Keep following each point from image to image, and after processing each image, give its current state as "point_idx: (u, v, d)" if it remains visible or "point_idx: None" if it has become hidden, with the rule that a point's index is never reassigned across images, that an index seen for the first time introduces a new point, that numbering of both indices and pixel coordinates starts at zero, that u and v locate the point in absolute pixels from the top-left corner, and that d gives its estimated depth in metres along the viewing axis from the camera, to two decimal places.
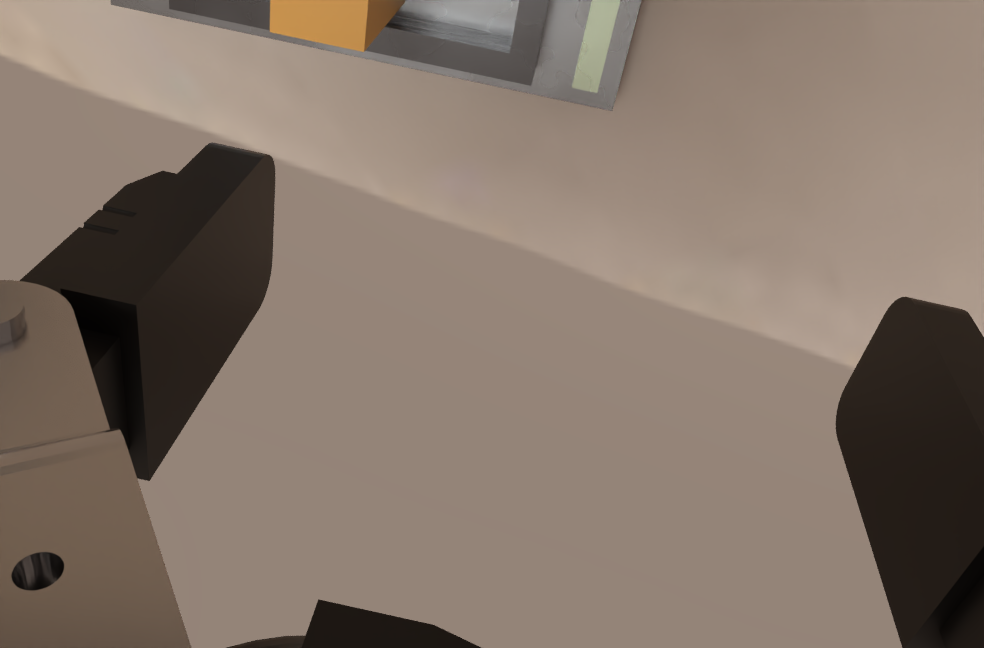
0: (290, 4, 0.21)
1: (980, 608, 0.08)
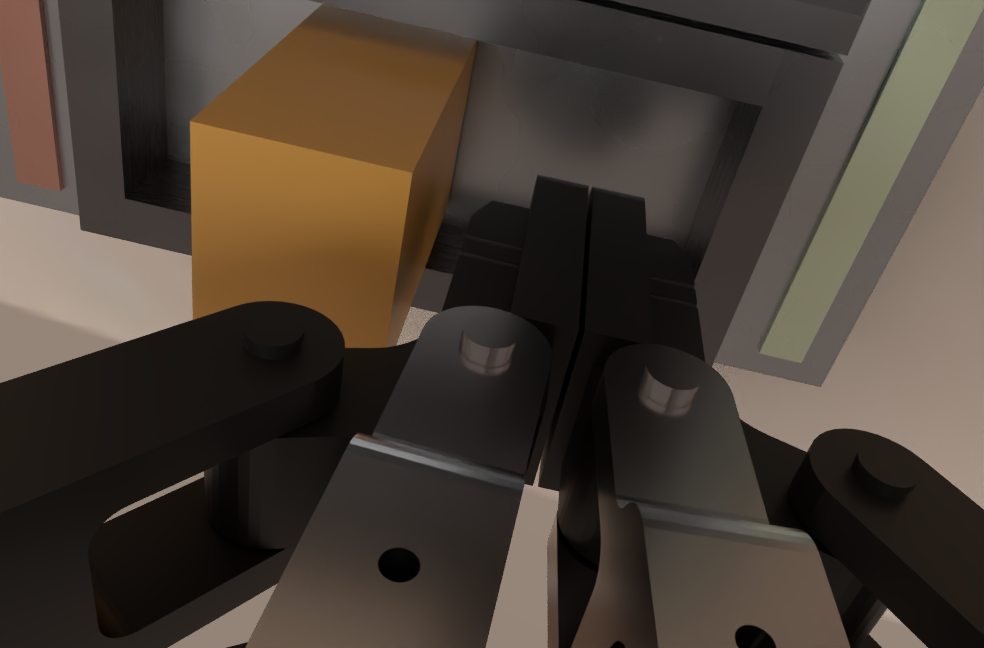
0: (233, 302, 0.10)
1: (574, 434, 0.09)
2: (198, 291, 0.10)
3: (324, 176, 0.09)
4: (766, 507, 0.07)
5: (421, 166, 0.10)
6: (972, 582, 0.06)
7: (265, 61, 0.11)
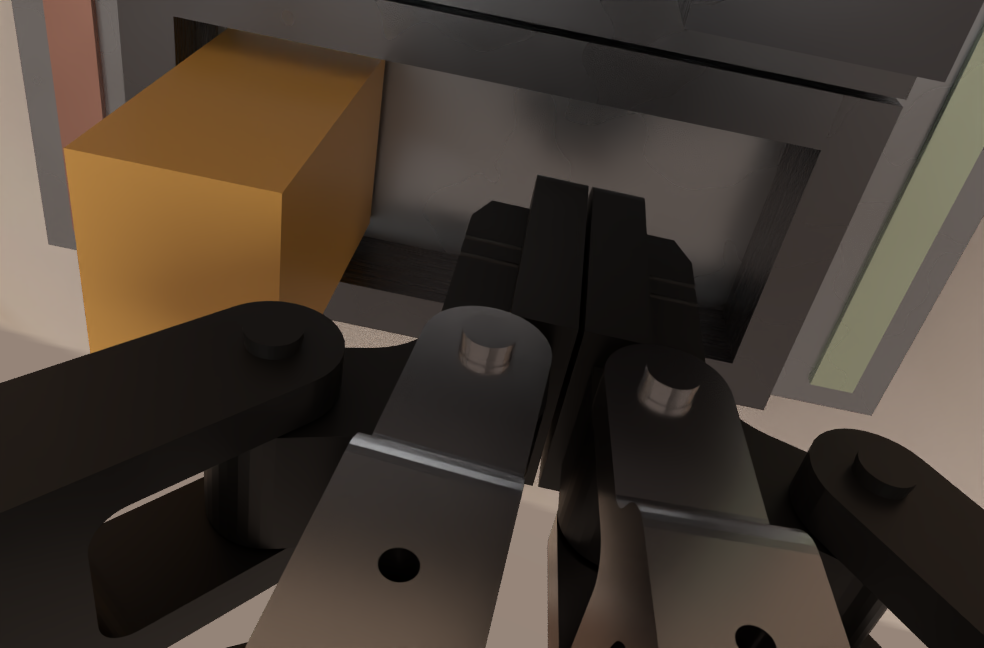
0: (126, 323, 0.10)
1: (575, 434, 0.09)
2: (90, 313, 0.10)
3: (198, 199, 0.09)
4: (767, 506, 0.07)
5: (300, 186, 0.10)
6: (972, 582, 0.06)
7: (156, 84, 0.11)
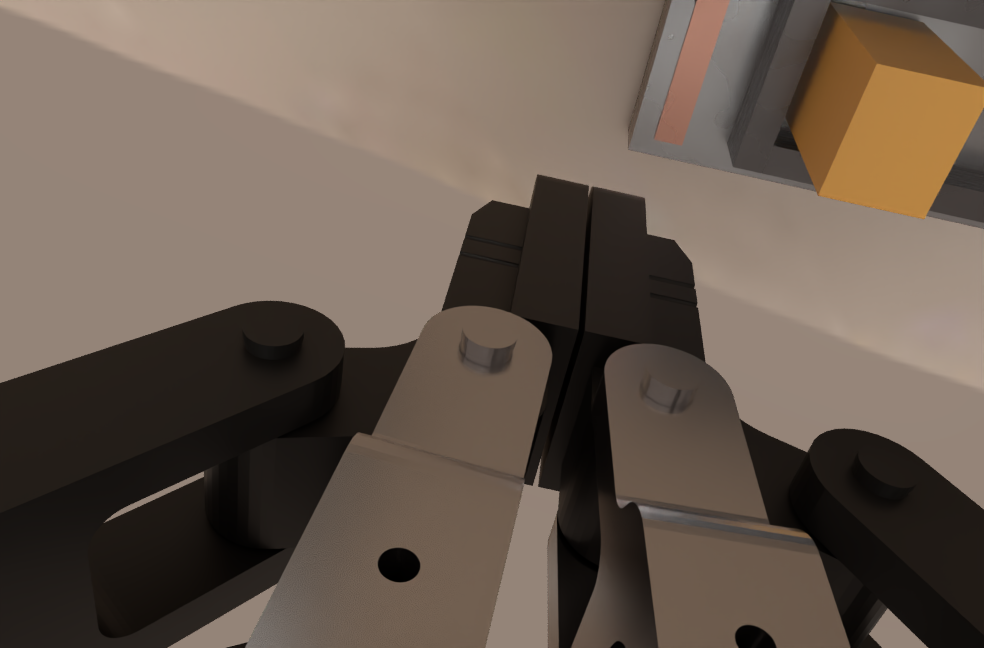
0: (854, 168, 0.19)
1: (574, 434, 0.09)
2: (837, 161, 0.18)
3: (941, 93, 0.17)
4: (766, 506, 0.07)
5: None
6: (972, 582, 0.06)
7: (857, 34, 0.19)
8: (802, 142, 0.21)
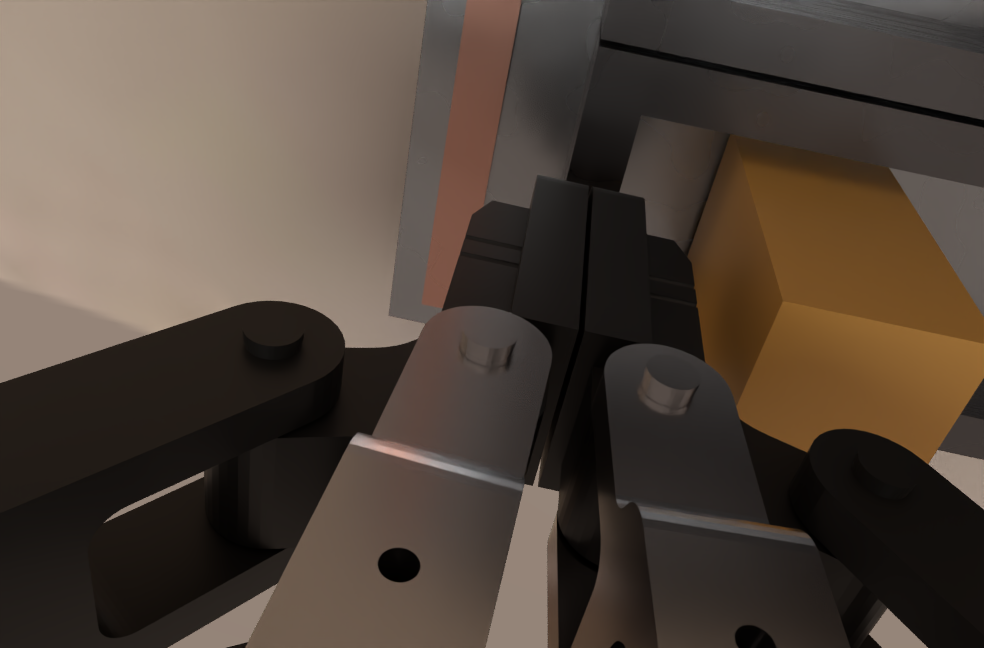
0: None
1: (574, 434, 0.09)
2: None
3: (906, 350, 0.09)
4: (766, 507, 0.07)
5: None
6: (972, 582, 0.06)
7: (762, 213, 0.11)
8: None
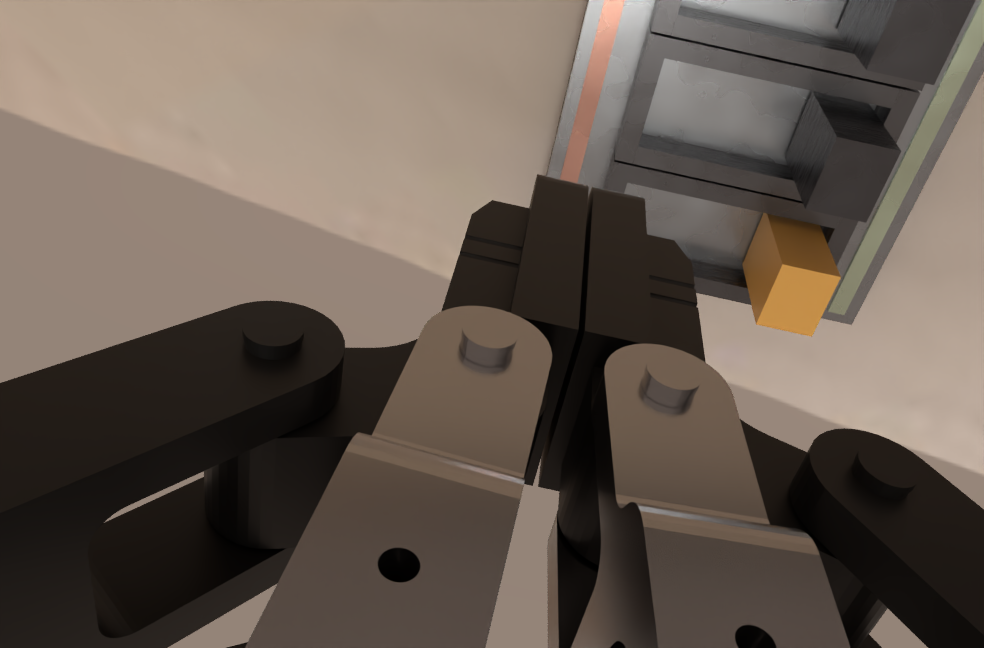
0: (774, 311, 0.36)
1: (574, 434, 0.09)
2: (765, 308, 0.36)
3: (815, 278, 0.34)
4: (766, 507, 0.07)
5: None
6: (972, 582, 0.06)
7: (776, 239, 0.36)
8: (750, 288, 0.38)
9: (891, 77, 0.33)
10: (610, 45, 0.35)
